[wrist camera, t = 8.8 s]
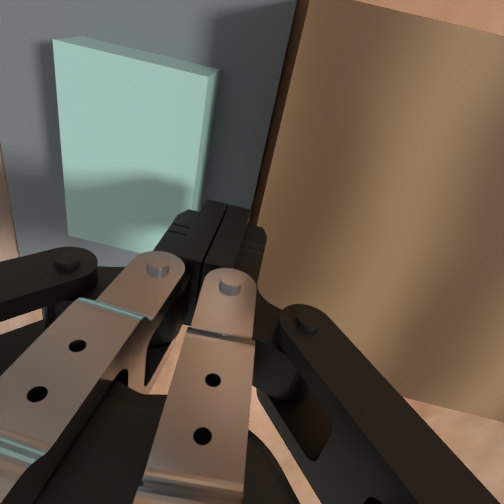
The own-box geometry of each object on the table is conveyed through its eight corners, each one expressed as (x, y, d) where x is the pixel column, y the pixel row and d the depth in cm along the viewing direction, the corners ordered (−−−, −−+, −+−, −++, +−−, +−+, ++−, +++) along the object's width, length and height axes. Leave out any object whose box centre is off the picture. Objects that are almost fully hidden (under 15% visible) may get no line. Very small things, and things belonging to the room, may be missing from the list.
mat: (306, -43, 13) (306, -45, 12) (229, 309, 21) (228, 312, 21) (-39, -125, 13) (-46, -128, 13) (23, 257, 22) (20, 260, 21)
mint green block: (52, 39, 13) (82, 36, 15) (68, 235, 17) (89, 215, 19) (208, 77, 13) (220, 69, 15) (184, 264, 17) (196, 242, 19)
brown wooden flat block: (767, 104, 13) (923, 135, 10) (527, 369, 21) (568, 438, 17) (312, -4, 13) (312, -10, 10) (241, 297, 21) (226, 352, 18)
